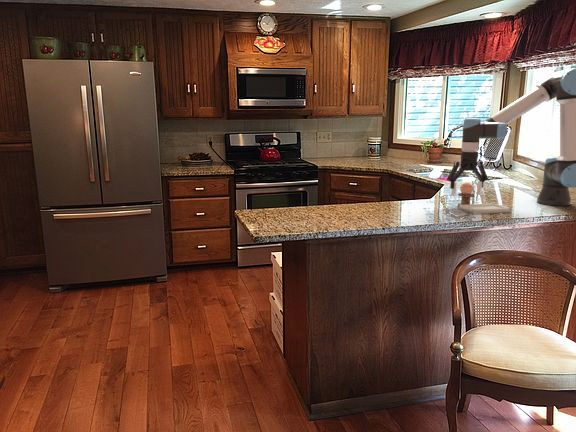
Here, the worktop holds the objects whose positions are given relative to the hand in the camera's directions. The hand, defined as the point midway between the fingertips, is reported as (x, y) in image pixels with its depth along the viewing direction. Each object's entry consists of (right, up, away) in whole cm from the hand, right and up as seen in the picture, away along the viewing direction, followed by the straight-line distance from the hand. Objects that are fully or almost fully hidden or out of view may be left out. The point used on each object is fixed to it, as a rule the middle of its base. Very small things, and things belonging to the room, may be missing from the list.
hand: (466, 195), depth 239 cm
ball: (0, 0, 0) cm, 0 cm away
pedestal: (0, -5, +1) cm, 6 cm away
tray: (+5, -8, -9) cm, 13 cm away
